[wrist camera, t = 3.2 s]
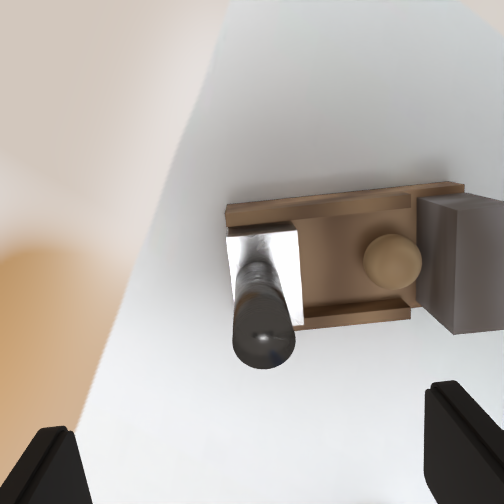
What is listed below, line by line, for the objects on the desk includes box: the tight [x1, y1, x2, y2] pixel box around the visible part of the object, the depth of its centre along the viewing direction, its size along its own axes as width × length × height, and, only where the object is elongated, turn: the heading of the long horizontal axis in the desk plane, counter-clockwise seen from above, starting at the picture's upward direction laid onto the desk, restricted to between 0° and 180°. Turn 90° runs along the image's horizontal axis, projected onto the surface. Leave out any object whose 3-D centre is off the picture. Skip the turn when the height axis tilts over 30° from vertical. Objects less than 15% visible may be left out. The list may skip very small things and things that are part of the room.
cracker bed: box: [225, 181, 504, 335], centre depth 25 cm, size 15×8×7 cm, turn 96°
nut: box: [363, 234, 422, 290], centre depth 25 cm, size 3×3×3 cm
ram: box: [226, 221, 304, 369], centre depth 21 cm, size 4×6×10 cm
